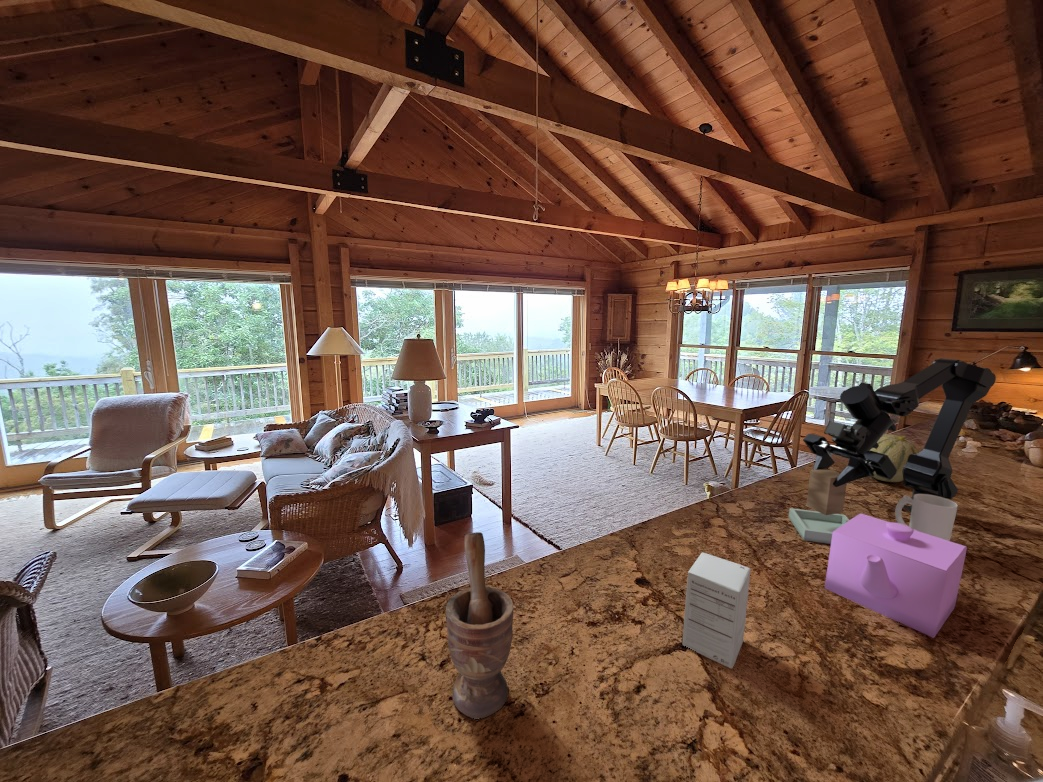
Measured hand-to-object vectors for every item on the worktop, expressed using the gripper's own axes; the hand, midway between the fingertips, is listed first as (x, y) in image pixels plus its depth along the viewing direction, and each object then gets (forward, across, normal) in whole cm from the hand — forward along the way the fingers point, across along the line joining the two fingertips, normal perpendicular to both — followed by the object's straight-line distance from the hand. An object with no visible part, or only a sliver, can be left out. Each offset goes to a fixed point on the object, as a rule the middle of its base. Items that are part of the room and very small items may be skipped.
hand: (823, 481), depth 99 cm
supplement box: (+43, +24, -26) cm, 55 cm away
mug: (-1, +12, +19) cm, 22 cm away
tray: (+8, +1, +10) cm, 13 cm away
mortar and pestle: (+69, +22, -52) cm, 89 cm away
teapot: (+17, +23, +1) cm, 28 cm away
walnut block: (+4, 0, +6) cm, 7 cm away
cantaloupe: (-27, -20, +45) cm, 56 cm away
